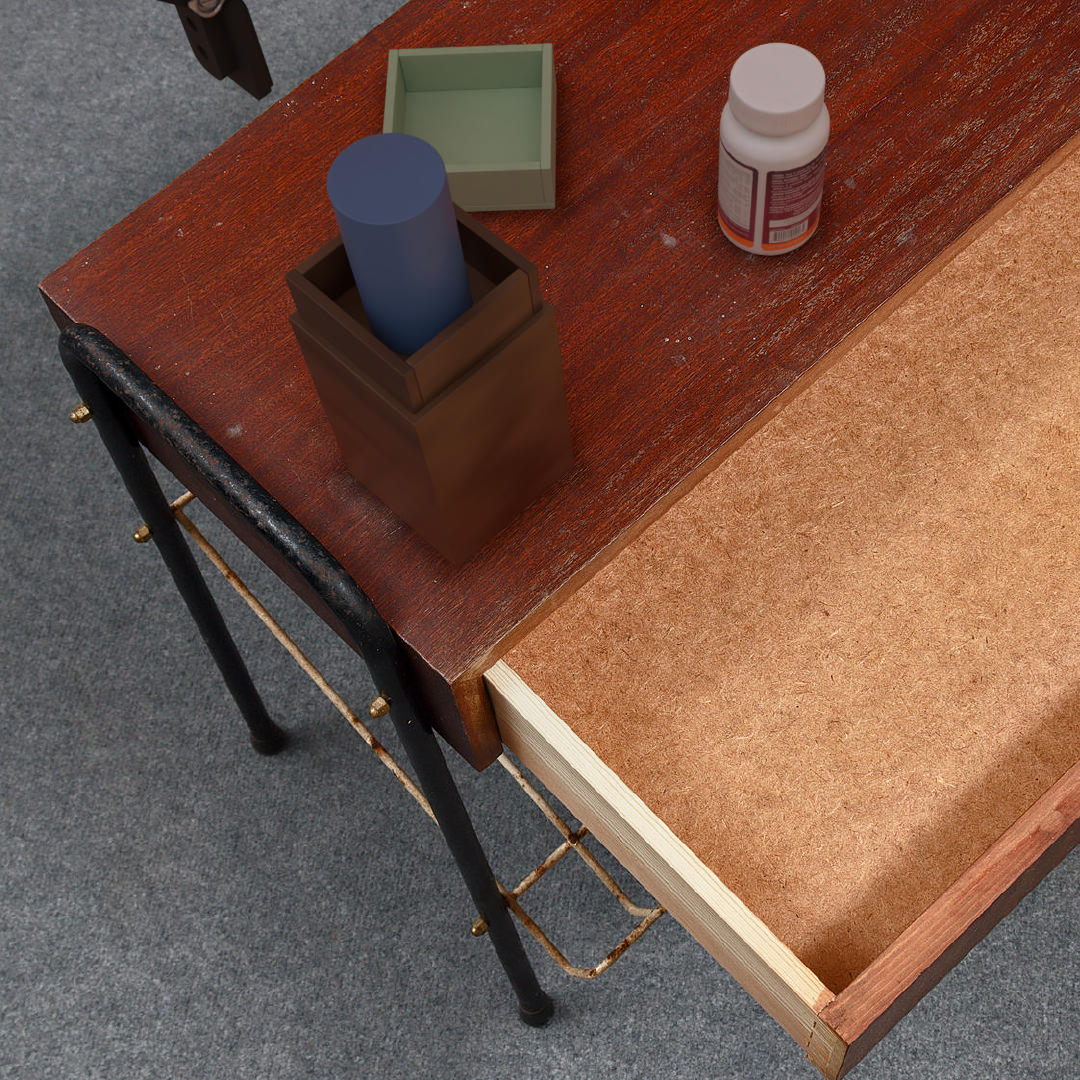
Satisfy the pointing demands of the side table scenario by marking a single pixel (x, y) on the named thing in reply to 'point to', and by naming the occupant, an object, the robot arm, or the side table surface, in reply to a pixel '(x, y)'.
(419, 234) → the vial
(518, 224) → the side table surface
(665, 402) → the side table surface
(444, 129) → the bin
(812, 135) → the pill bottle
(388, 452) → the stand
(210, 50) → the robot arm
